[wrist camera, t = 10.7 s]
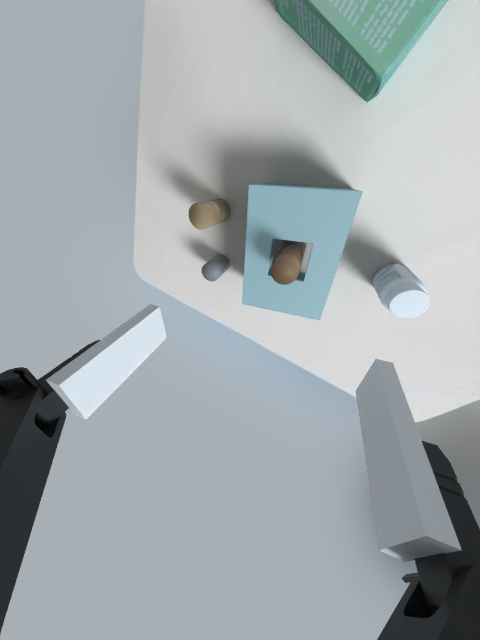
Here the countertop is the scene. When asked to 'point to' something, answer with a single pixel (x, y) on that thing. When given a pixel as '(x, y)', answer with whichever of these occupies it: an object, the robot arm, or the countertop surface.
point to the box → (361, 35)
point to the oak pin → (208, 213)
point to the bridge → (302, 226)
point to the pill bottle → (401, 291)
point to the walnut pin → (288, 262)
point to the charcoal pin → (215, 267)
